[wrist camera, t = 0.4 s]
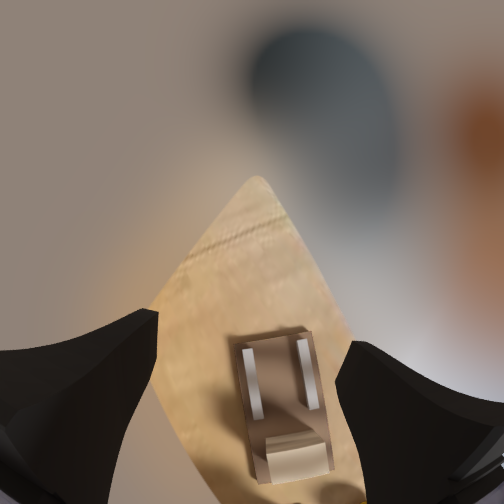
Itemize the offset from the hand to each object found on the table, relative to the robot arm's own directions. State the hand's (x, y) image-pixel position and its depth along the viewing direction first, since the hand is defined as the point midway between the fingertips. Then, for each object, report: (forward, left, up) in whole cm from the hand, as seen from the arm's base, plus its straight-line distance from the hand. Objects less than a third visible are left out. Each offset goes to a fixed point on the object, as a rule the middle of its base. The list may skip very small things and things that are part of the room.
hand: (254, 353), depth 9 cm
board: (-7, -2, -26) cm, 27 cm away
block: (-12, -2, -25) cm, 28 cm away
